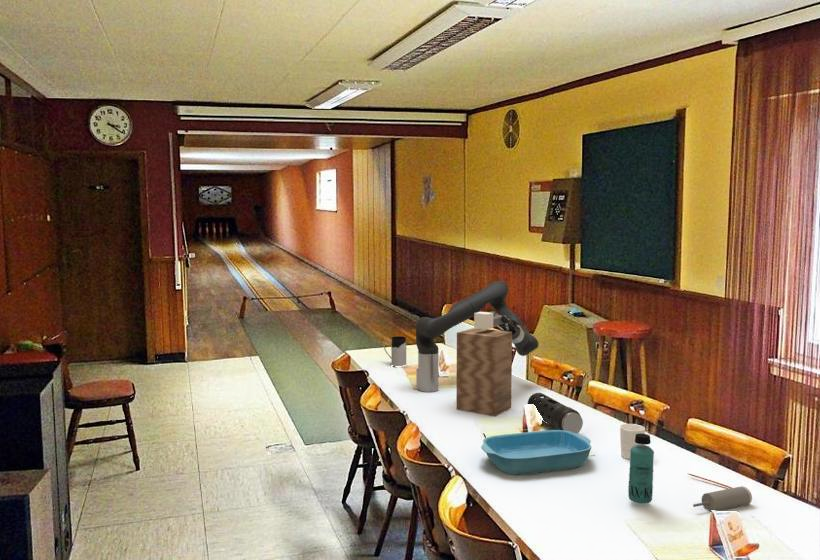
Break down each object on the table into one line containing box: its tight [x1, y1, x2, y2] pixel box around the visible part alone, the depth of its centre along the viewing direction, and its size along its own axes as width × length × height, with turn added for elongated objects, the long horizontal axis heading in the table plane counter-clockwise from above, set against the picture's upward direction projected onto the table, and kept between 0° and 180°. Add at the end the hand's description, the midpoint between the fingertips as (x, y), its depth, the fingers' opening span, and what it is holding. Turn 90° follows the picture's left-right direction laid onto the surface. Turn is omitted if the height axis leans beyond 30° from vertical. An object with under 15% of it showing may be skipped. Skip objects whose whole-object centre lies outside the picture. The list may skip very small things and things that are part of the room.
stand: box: [455, 327, 513, 417], centre depth 290 cm, size 18×14×32 cm
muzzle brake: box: [527, 392, 584, 434], centre depth 266 cm, size 10×28×10 cm, turn 16°
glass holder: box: [382, 335, 407, 366], centre depth 373 cm, size 9×14×15 cm, turn 57°
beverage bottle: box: [627, 433, 655, 505], centre depth 196 cm, size 6×7×20 cm
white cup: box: [619, 423, 646, 460], centre depth 235 cm, size 8×8×10 cm
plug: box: [473, 311, 507, 330], centre depth 293 cm, size 6×19×6 cm, turn 145°
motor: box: [688, 473, 753, 512], centre depth 204 cm, size 23×22×5 cm
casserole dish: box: [480, 429, 592, 475], centre depth 229 cm, size 37×22×7 cm, turn 105°
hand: (497, 317), depth 297 cm, fingers closed on plug, 4 cm apart
